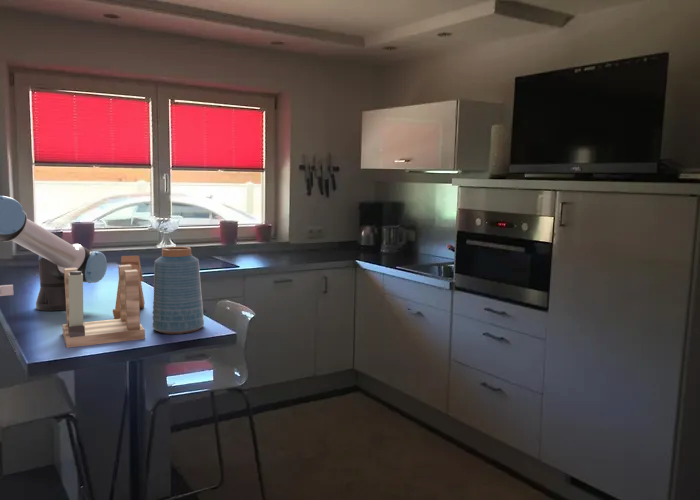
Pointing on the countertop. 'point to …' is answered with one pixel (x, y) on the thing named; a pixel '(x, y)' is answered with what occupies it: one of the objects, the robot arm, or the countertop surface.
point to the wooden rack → (109, 329)
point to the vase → (177, 292)
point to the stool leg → (75, 298)
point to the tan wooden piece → (135, 264)
